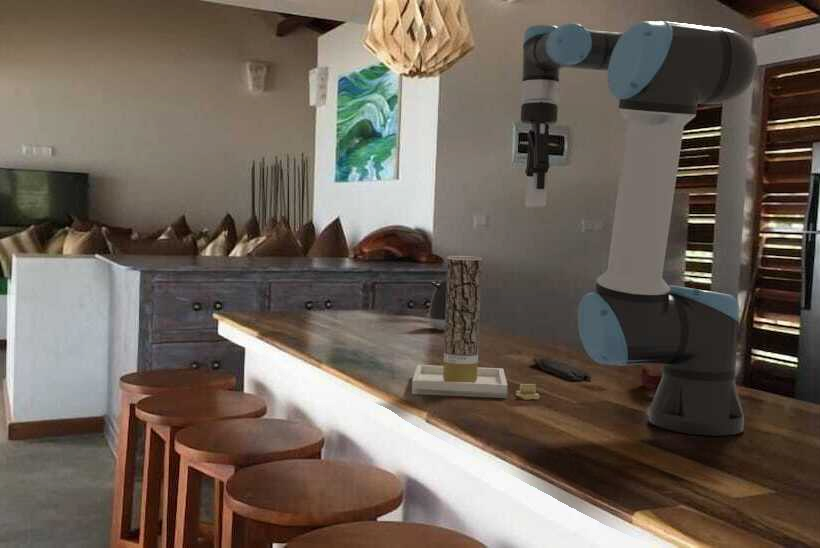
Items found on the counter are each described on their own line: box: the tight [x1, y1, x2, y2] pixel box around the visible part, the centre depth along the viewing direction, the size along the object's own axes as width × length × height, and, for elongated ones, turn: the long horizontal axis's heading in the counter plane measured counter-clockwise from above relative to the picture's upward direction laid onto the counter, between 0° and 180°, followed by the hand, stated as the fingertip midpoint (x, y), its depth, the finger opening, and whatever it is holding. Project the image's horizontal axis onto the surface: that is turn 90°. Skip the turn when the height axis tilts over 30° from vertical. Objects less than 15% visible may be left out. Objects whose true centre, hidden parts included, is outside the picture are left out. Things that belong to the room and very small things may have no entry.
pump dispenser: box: [428, 278, 447, 332], centre depth 258 cm, size 10×10×15 cm
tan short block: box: [515, 383, 540, 401], centre depth 163 cm, size 4×3×3 cm
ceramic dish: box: [411, 364, 508, 399], centre depth 171 cm, size 18×18×2 cm
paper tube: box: [443, 255, 483, 383], centre depth 170 cm, size 7×7×25 cm
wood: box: [531, 356, 591, 383], centre depth 192 cm, size 22×7×3 cm, turn 19°
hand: (535, 206), depth 179 cm, fingers open, 13 cm apart
